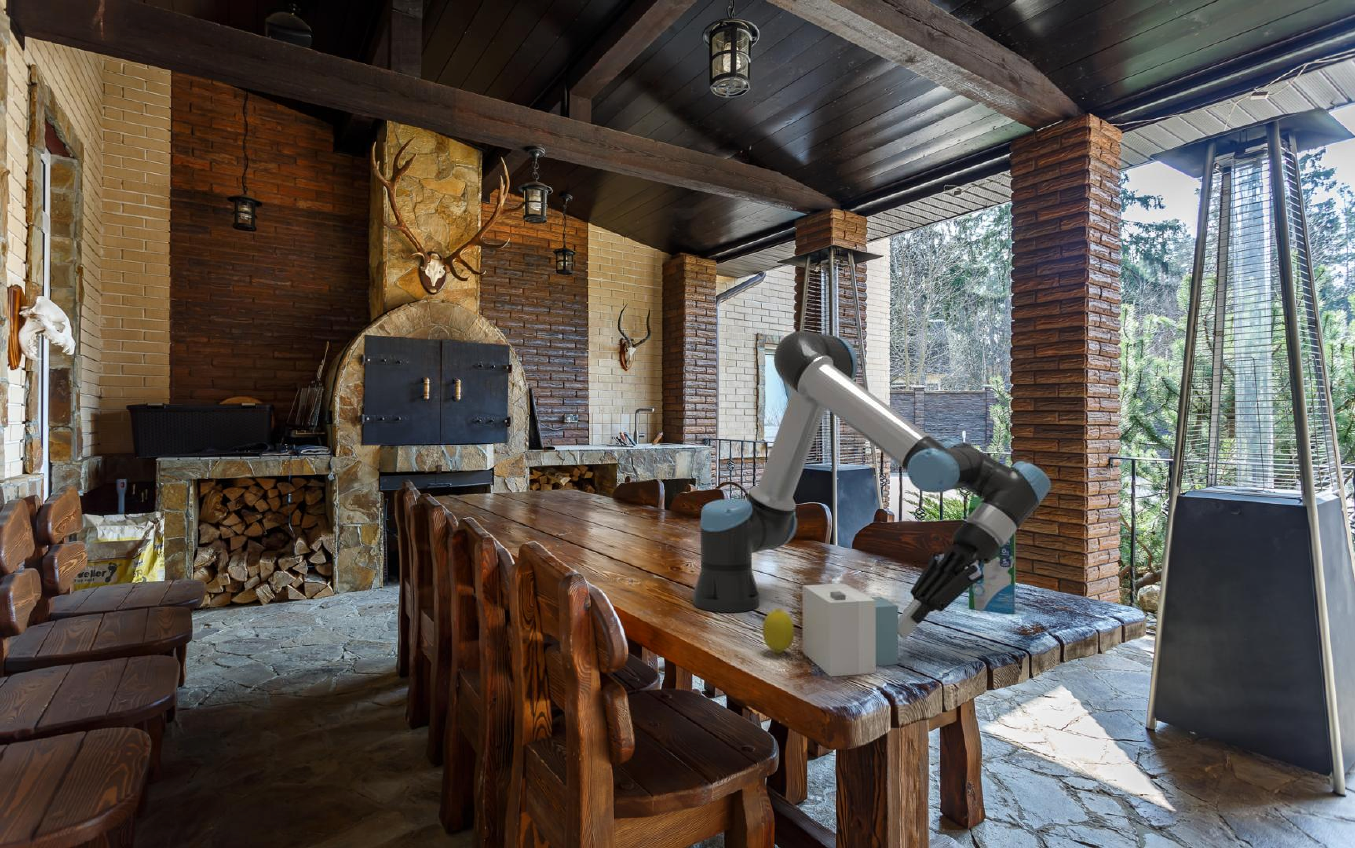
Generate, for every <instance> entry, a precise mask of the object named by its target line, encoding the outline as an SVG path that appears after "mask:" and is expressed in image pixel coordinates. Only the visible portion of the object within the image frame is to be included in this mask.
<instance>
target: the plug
mask: <svg viewBox="0 0 1355 848" xmlns="http://www.w3.org/2000/svg"><path fill="white" fill-rule="evenodd" d="M869 597H870V598H872V599H874V600H876V667H878V666H879V667H880V666H893V665H894V666H895V665H899V634H898V618H899V605H897V604H896V603H893V602H892V601H890V600H887V599H886V598H884V597H882V596H875V597H871V596H869Z"/></svg>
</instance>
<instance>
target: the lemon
mask: <svg viewBox="0 0 1355 848" xmlns="http://www.w3.org/2000/svg"><path fill="white" fill-rule="evenodd" d="M794 628H795V627H794V623H793V620H792V618H791V616H789V614H788V613H786V612H785V611H783V610H781V609H780V608H776V609H775V610H773V611H771V612H770V613H768V614H767V615H766V617H765V619H764V622H763V626H762V637H763V639H764V643H765V644H766V646H767V647H768V648H769V649H770V650H773V651H774V652H775V653H776V654H778V655H780V654H781V653H783V651H786V650H787V649H789V648H790V647H791V645H792V644H793V641H794V638H795V629H794Z"/></svg>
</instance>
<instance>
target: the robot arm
mask: <svg viewBox="0 0 1355 848" xmlns="http://www.w3.org/2000/svg"><path fill="white" fill-rule="evenodd" d="M858 361H859V360H858V355H857V353H856V350H855V349H854V347H853V346H852V345H851V343H850V342H848V341H847V340H845V339H843V338H840V337H838V336H836V335H832V334H825V333H817V332H812V331H806V330H802V331H801V330H798V331H795V332H792V333H790V334H787V335H786V336H785V337H784V338H782V339H781V340H780V342H778V344H777V346H776V348H775V350H774V354H773V363H774V368H775V371H776V372H777V373H776V374H778V376H779V378H780V379H782V381H783V382H785V383H786V384H787V386H788V389H789V391H790V393H791V394H790V396H789V398H788V399H789V400H788V402H787V405H786V407H785V410H784V413H783V415H782V418H781V421H780V424H779V427H778V429H777V433H776V435H775V438H774V441H773V444H772V447H771V449H770V452H769V454H768V457H767V459H766V463H765V466H764V468H763V471H762V474H761V477H760V480H759V483H758V484H757V485H755V486H753V487H751V488H750V489H749V492H748V495H747V497H746V499H744V498H726V499H716V500H713V501H710V502H708V503H706V504H705V505H704V506H702V508H701V513H700V514H701V515H700V520H699V526H700V571H699V574H698V578H697V581H696V584H695V588H694V591H693V594H692V595H693V596H692V597H693V601H692V603H693V606H695V607H696V608H698V609H701V610H704V611H709V612H716V613H740V612H747V611H751V610H754V609H757V608H758V607H759V606H760V592H759V589H758V586H757V582H756V579H755V576H754V573H753V568H752V565H753V563H752V561H753V560H752V559H753V558H752V557H753V556H752V555H753V554H755V553H759V552H763V551H768V550H774V549H778V548H780V547H782V546H784V545H786V544H787V543H788V542H790V541H791V540H792V539H793V537H794V535H795V534H796V531H797V527H798V519H797V517H796V516H797V514H796V507H797V504H796V502H795V500H794V498H793V497H794V494H795V492H796V490H797V486H798V484H799V481H800V479H801V476H802V473H803V470H804V467H805V465H806V462H807V459H808V457H809V455H810V453H811V449H812V447H813V444H814V442H815V438H816V436H817V433H818V432H819V428H820V425H821V423H822V421H823V417H824V416H825V412H826V409H827V410H828V411H829V412H830V413H832V414H833V415H834V416H836V417H837V418H839V420H840V421H842V422H843V423H845V424H846V425H847V426H848V427H850V428H851V429H852V430H853V431H855V432H856V433H857V434H858V435H860V436H861V437H863V438H864V439H865V440H866V441H868V443H871V445H873V446H875V448H877V449H878V450H879V451H881V453H883V454H884V455H885V456H887V457H888V458H889V459H891V460H892V461H893V462H895V463H896V464H897V465H898V466H899V467H901V468H902V469H904V470H905V471H906V472H907V477H908V479H909V480H910V483H911V484H912V485H913V486H914V487H915V488H916V489H918V490H920V491H922V492H923V493H924V492H925V493H933V494H936V493H937V494H938V493H946V492H947V491H951V490H958V489H963V488H964V489H965V490H966V491H968V492H970V493H971V494H972V493H973V494H975V495H976V496H978V497H979V498H981V499H983V501H982V502H981V503H980V504H979V505H978V506H977V508H976V509H975V510H974V511H973V512H972V513H971V514H970V515H969V514H968V516H967V518H966V522H962V524H961V525H960V526H959V527H958V528H957V529H956V530H955V531H954V533H953V534H952V536H951V537H952V541H953V543H952V545H951V546H950V547H948V548H947V549H946V550H945V551H944V553H942V554H938V553H937V552H935V551H934V552H932V554H931V555H930V558H929V562H928V563H927V565H926V566H925V568H924V569H923V571H922V572H921V574H920V575H919V577H918V579H917V580H916V582H915V583H914V585H913V587H912V588H911V590H910V594H911V595H912V596H913V597H912V598H913V600H912V601H911V602H910V603H909V605H908V606H907V607H906V608H905V609H904V611H903V612H902V613H901V614H900V616H898V636H900V637H901V638H903V640H906V639H908V637H909V636H910V635H911V634H912V633H913V631H914V630H915V629H916V628H917V627H918V625H919V624H921V623H922V622H923V621H924V619H926V617H927V616H929V614H930V612H934V611H938V612H943V611H944V610H945V609H946V608H947V607H949V606H950V605H951V604H952V603H954V602H955V601H956V600H957V599H958V598H959V597H960V596H961V595H962V594H964V593H965V592H966V591H967V590H969V587H970V586H971V585H973V584H974V583H976V582H978V581H979V580H981V579H983V578H984V575H983V573H982V572H981V571H980V569H979V567H980V566H981V564H982V563H983V564H987V563H989V562H990V561H991V560H992V559H993V558H994V557H995V555H996V554H997V553H998V552H999V551H1000V547H1001V546H1003V545H1004V544H1005V543H1006V542H1007V541H1008V540H1009V538H1010V537H1011V536H1012V535H1013V533H1014V532H1015V533H1016V531H1017V530H1018V529H1020V527H1021V526H1022V524H1023V523H1024V522H1025V521H1026V520H1027V519H1028V518H1029V517H1030V516H1031V514H1033V512H1034V511H1035V510H1036V509H1037V507H1039V506H1040V505H1041V502H1042V501H1043V499H1045V497H1046V495H1047V494H1048V493H1049V491H1050V490H1051V489H1052V485H1051V484H1052V483H1051V480H1050V478H1049V476H1048V475H1047V473H1045V472H1044V471H1043V470H1042V469H1041V468H1039V467H1037V466H1036V465H1034V464H1033V463H1029V462H1028V463H1027V462H1026V461H1022V460H1020V461H1017V462H1014V464H1012V465H1011V466H1008V465H1006V464H1004V463H1002V462H999V461H997V460H996V459H994V458H993V457H991V456H989V455H988V454H986V453H984V452H983V451H981V450H979V449H977V448H975V447H974V446H973V445H971V444H970V443H968V442H964V441H962V440H960V439H959V438H956V437H950V438H948V439H946V441H943V442H942V443H940V442H938V441H937V440H935V438H932V436H930V435H929V434H927V432H925V431H923V430H922V429H921V428H919V427H918V426H917V425H915V424H914V423H913V422H911V421H910V420H908V419H907V418H905V417H904V416H903V415H901V414H900V413H899V412H897V411H896V410H895V409H893V408H892V407H891V406H889V405H887V403H885V402H884V401H882V400H881V399H880V398H878V397H877V396H876V395H874V394H873V393H871V392H870V391H869V390H867V389H866V388H864V387H863V386H862V385H860V383H857V382H856V381H854V379H855V377H856V376H857V372H858V368H859V367H858V365H859V362H858Z"/></svg>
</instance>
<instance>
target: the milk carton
mask: <svg viewBox="0 0 1355 848" xmlns="http://www.w3.org/2000/svg"><path fill="white" fill-rule="evenodd" d="M982 501H983V499H981V498H979V497H978V496H976V495H975V494H973V493H971V497H970V501H969V506H968V516H969V515H970V514H971V513H972V512H973V511H974V510H975V509H976V508H977V506H978V505H979V504H980V503H981V502H982ZM979 569H980V571H981V572H982V573H983V575H984V578H983V579H981V580H979V581H978V582H976V583H974V584H973V585H971V586H970V587H969V588H968V609H969V610H975V611H977V610H978V611H984V612H993V613H1001V614H1009V615H1014V614H1015V613H1016V531H1015V532H1014V533H1013V535H1012V536H1011V537H1010V538H1009V540H1008V541H1007V542H1006V543H1005V544H1004V545H1003V546H1001V547H1000V551H999V552H998V553H997V554H996V555H995V557H994V558H993V559H992V560H991V561H990V562H989V563H987V564H983V563H982V564H981V566H980V567H979Z"/></svg>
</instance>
